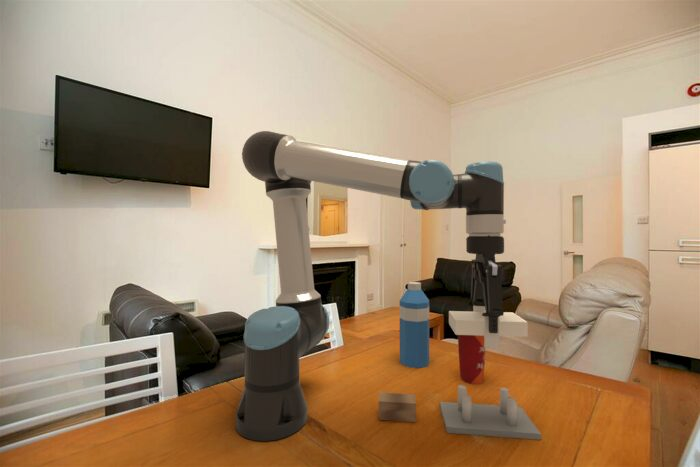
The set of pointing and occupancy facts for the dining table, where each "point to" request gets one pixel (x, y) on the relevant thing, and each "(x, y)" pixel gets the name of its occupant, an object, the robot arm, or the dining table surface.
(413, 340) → the water bottle
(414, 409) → the riser block
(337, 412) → the dining table surface
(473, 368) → the coffee cup
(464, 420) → the peg stand
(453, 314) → the shelf board
